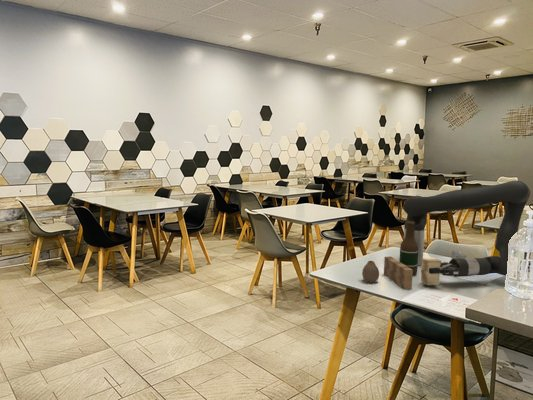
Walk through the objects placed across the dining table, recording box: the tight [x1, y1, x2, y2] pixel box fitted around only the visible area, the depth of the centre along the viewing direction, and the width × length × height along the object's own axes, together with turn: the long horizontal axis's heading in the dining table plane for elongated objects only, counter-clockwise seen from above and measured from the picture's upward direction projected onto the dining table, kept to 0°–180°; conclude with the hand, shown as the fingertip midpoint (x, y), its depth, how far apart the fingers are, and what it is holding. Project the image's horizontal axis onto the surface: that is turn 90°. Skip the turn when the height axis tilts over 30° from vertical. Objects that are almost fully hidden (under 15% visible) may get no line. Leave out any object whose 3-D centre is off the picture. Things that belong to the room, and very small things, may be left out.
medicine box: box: [451, 250, 467, 259], centre depth 187 cm, size 8×4×9 cm, turn 168°
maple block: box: [420, 257, 441, 286], centre depth 166 cm, size 5×5×10 cm
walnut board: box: [383, 256, 413, 290], centre depth 173 cm, size 20×3×8 cm, turn 8°
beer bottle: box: [398, 221, 418, 277], centre depth 182 cm, size 8×8×24 cm
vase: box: [361, 260, 380, 284], centre depth 172 cm, size 7×7×9 cm
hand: (425, 268), depth 166 cm, fingers closed on maple block, 5 cm apart
